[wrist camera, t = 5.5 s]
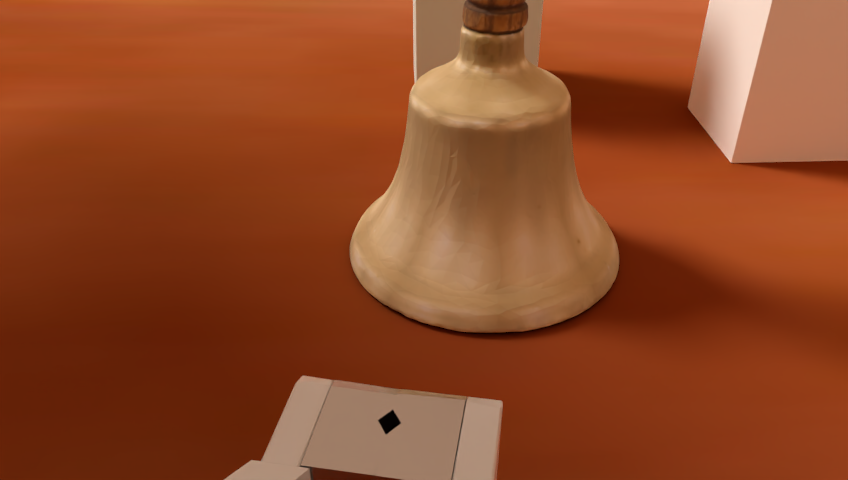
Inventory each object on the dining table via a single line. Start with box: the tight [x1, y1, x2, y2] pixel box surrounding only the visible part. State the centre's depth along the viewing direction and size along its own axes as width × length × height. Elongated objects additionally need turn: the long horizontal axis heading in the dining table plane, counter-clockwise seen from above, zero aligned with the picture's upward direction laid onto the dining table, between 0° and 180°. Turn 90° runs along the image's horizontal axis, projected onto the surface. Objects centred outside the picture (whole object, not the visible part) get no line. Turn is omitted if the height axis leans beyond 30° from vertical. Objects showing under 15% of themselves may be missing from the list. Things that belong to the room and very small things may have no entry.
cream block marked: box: [687, 0, 848, 163], centre depth 28 cm, size 5×5×10 cm
